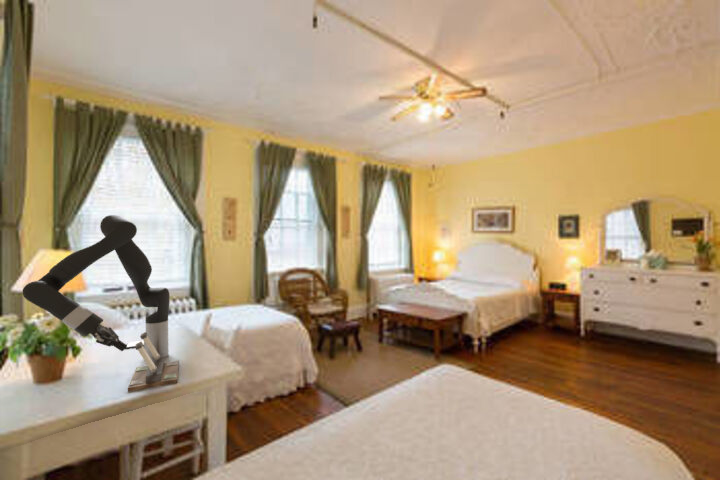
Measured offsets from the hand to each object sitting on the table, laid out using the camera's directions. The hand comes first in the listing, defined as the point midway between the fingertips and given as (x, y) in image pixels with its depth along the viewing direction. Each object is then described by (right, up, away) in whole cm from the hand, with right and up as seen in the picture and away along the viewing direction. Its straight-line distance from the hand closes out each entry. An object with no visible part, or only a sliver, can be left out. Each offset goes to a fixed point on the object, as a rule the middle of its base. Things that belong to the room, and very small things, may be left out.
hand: (124, 348), depth 121 cm
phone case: (-27, -16, +50) cm, 59 cm away
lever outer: (+8, -10, +4) cm, 14 cm away
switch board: (+5, -15, +11) cm, 19 cm away
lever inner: (+2, -10, +17) cm, 19 cm away
